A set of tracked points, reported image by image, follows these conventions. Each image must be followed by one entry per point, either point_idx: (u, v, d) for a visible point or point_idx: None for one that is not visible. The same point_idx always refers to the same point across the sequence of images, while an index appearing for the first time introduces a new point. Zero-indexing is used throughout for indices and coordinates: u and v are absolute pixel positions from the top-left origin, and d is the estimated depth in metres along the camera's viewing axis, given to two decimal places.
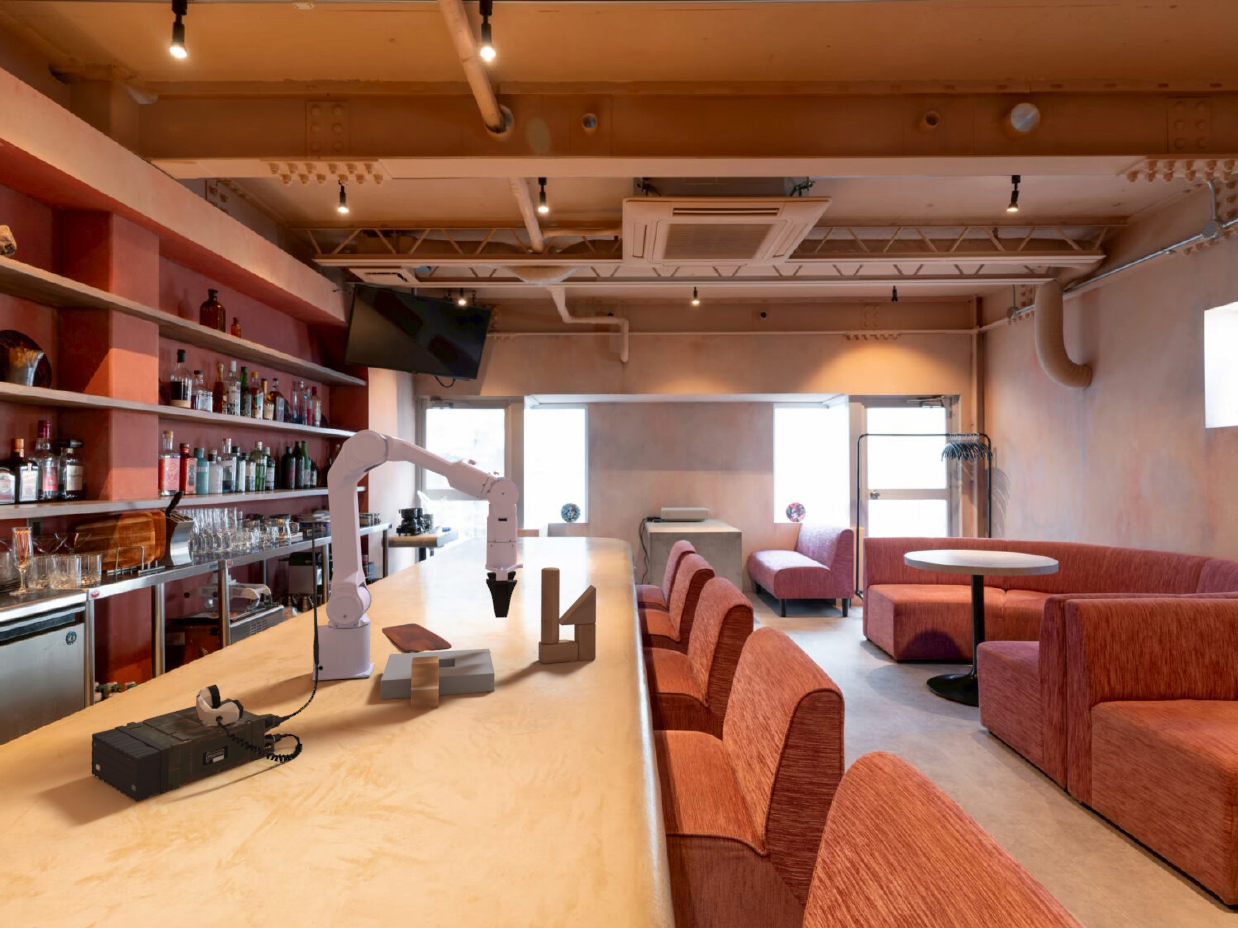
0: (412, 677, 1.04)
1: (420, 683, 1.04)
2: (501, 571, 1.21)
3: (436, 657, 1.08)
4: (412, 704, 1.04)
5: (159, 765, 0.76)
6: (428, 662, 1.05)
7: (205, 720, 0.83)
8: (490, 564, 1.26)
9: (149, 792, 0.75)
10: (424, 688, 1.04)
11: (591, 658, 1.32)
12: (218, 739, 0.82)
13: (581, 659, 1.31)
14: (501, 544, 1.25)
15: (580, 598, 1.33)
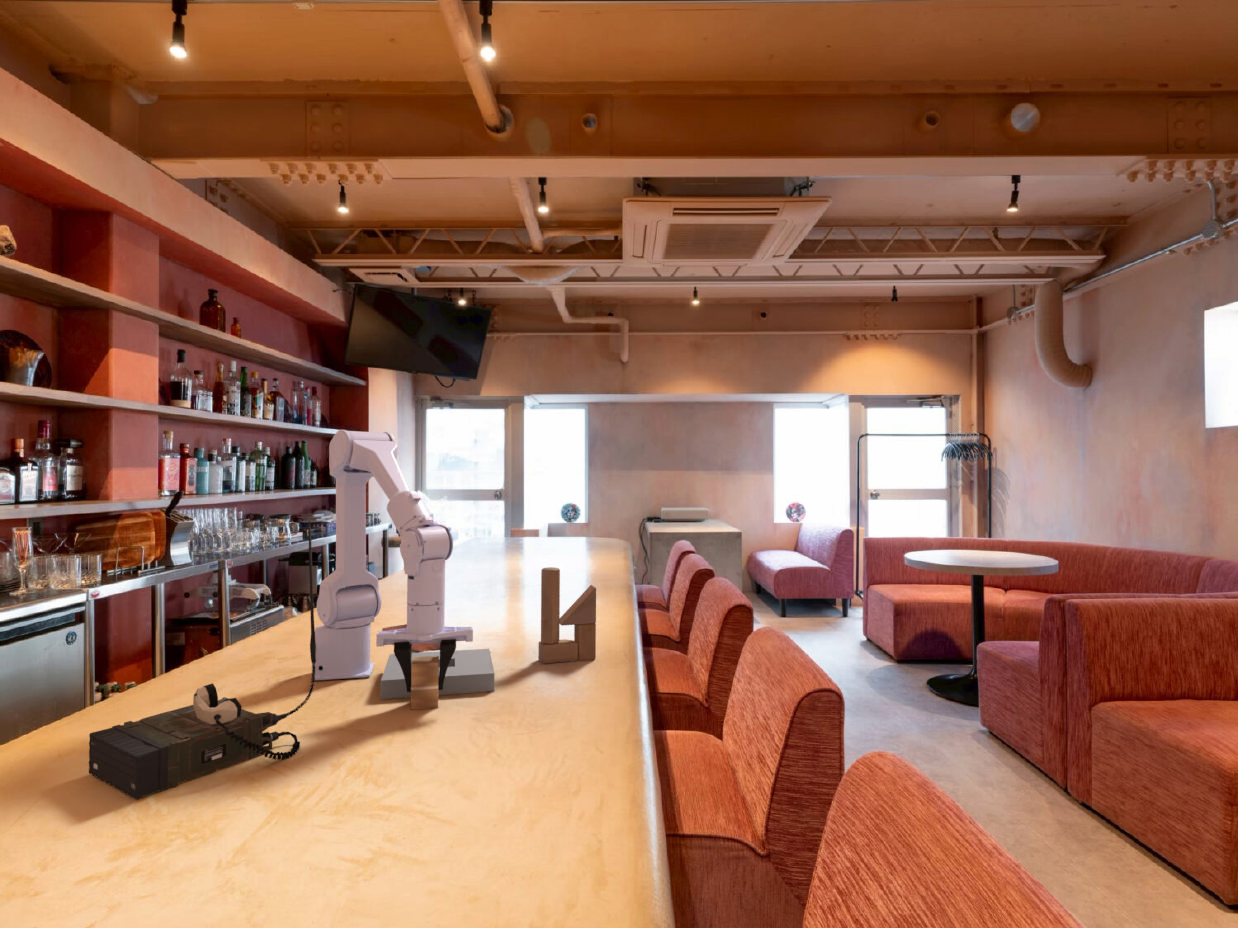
0: (412, 677, 1.04)
1: (420, 683, 1.04)
2: (377, 634, 1.05)
3: (436, 657, 1.08)
4: (412, 704, 1.04)
5: (158, 763, 0.77)
6: (428, 662, 1.05)
7: (203, 719, 0.84)
8: None
9: (148, 790, 0.76)
10: (424, 688, 1.04)
11: (591, 658, 1.32)
12: (216, 737, 0.82)
13: (581, 659, 1.31)
14: None
15: (580, 598, 1.33)
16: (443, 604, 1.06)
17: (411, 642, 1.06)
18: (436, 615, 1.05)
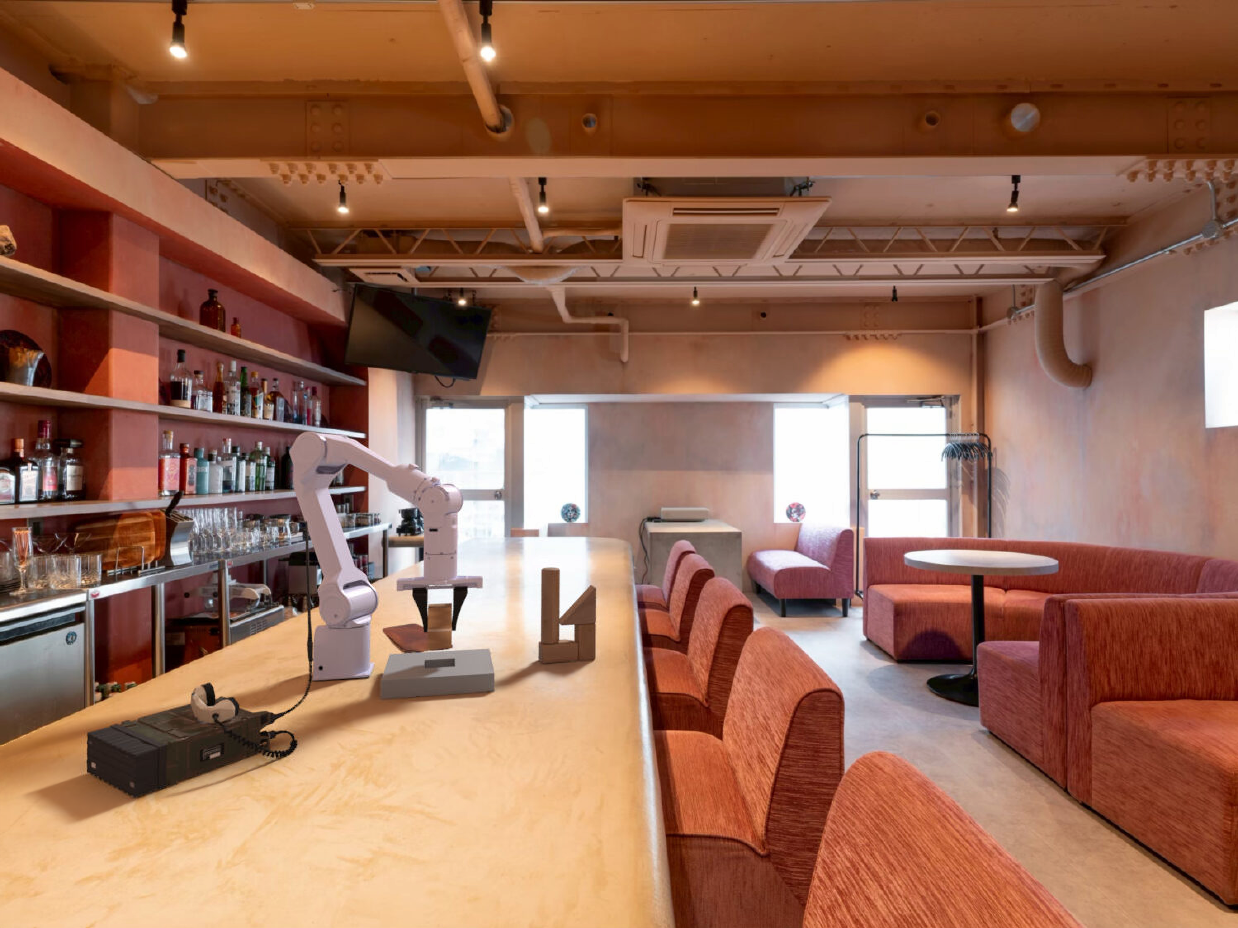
0: (428, 620, 1.16)
1: (435, 625, 1.16)
2: (397, 580, 1.17)
3: (449, 604, 1.20)
4: (428, 644, 1.16)
5: (157, 762, 0.77)
6: (443, 607, 1.17)
7: (201, 717, 0.84)
8: None
9: (147, 789, 0.76)
10: (439, 630, 1.16)
11: (591, 658, 1.32)
12: (214, 736, 0.83)
13: (581, 659, 1.31)
14: None
15: (580, 598, 1.33)
16: (456, 554, 1.18)
17: (427, 588, 1.18)
18: (450, 564, 1.17)
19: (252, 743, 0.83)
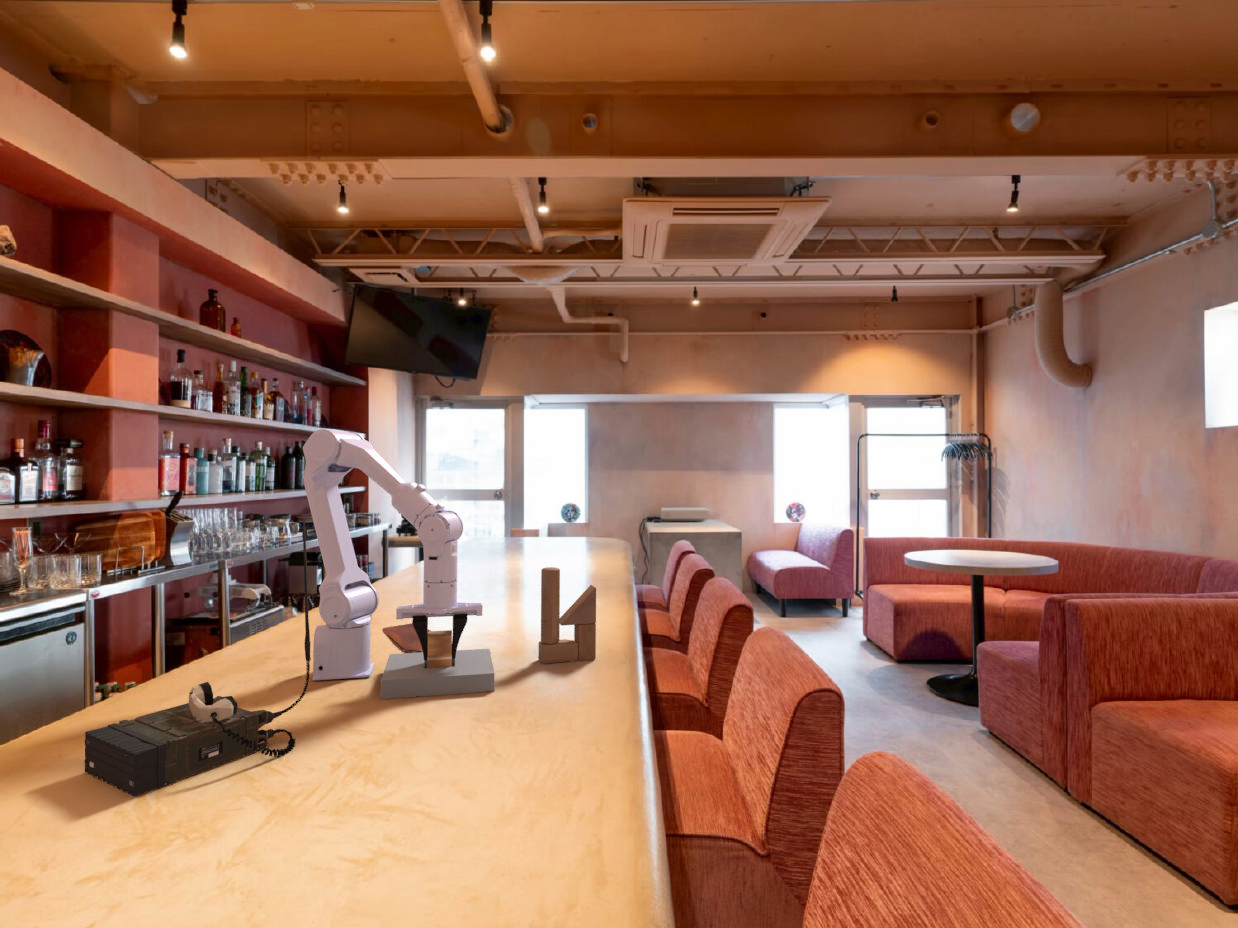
0: (428, 648, 1.16)
1: (435, 654, 1.16)
2: None
3: (449, 631, 1.20)
4: None
5: (156, 761, 0.78)
6: (443, 635, 1.17)
7: (199, 716, 0.84)
8: None
9: (146, 787, 0.77)
10: (439, 658, 1.16)
11: (591, 658, 1.32)
12: (213, 735, 0.83)
13: (581, 659, 1.31)
14: None
15: (580, 598, 1.33)
16: (456, 582, 1.18)
17: (427, 616, 1.18)
18: (450, 592, 1.17)
19: (251, 742, 0.83)
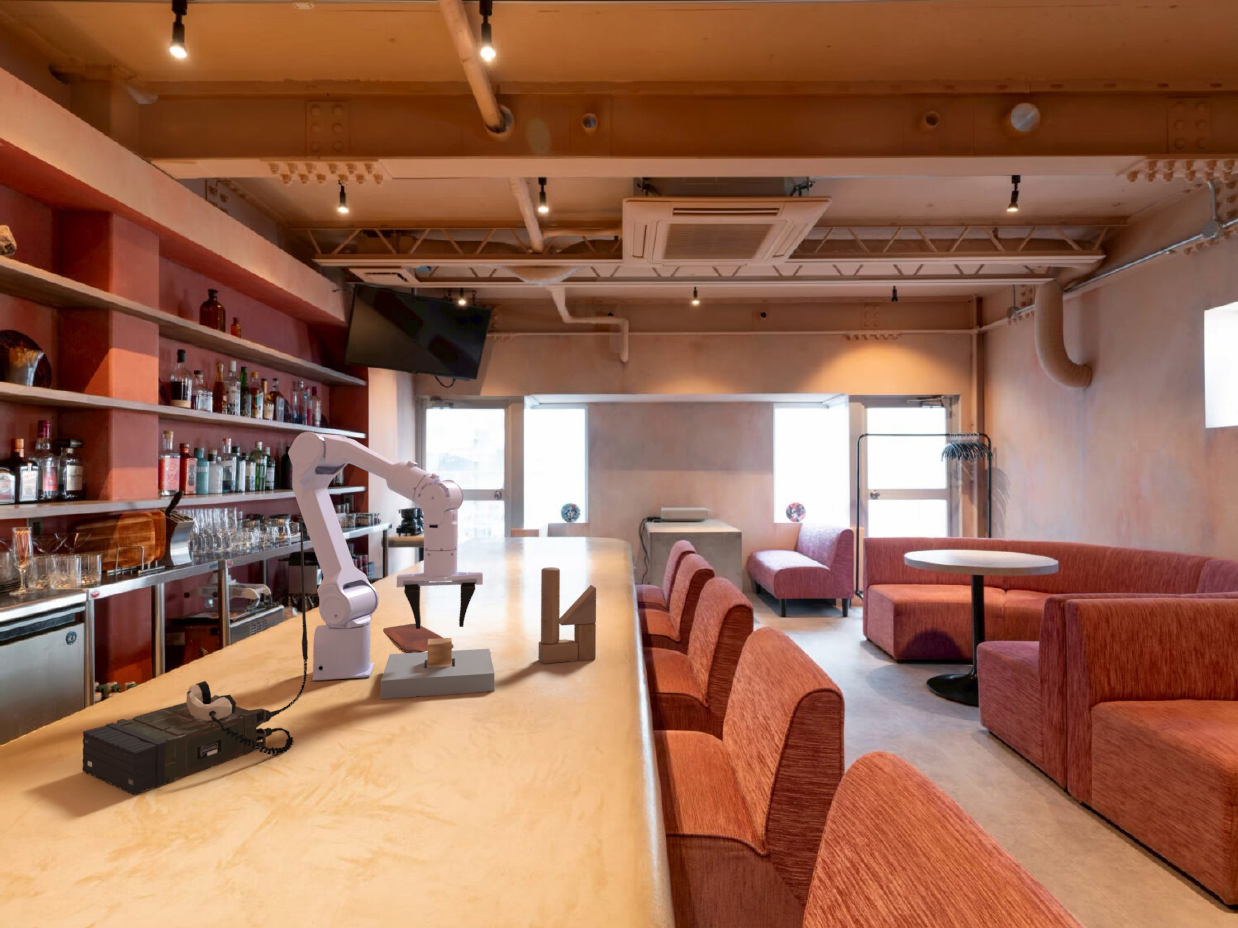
0: (428, 656, 1.16)
1: (435, 661, 1.16)
2: None
3: (449, 639, 1.20)
4: None
5: (156, 759, 0.78)
6: (442, 643, 1.17)
7: (198, 715, 0.85)
8: None
9: (146, 786, 0.77)
10: (439, 666, 1.16)
11: (591, 658, 1.32)
12: (211, 733, 0.83)
13: (581, 659, 1.31)
14: None
15: (580, 598, 1.33)
16: (456, 550, 1.18)
17: (427, 584, 1.18)
18: (450, 560, 1.17)
19: (249, 740, 0.84)
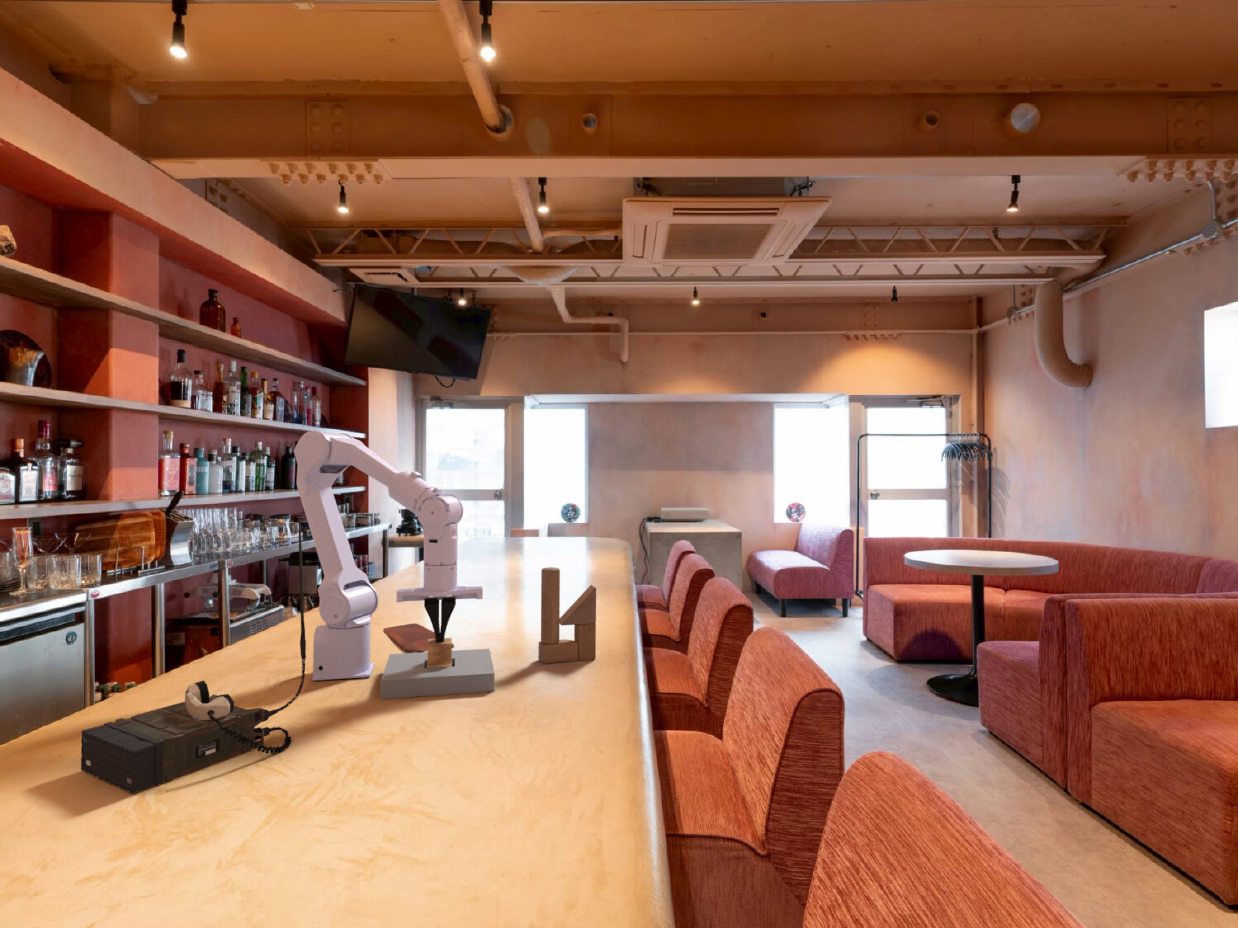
0: (428, 656, 1.16)
1: (435, 661, 1.16)
2: (397, 591, 1.17)
3: (449, 639, 1.20)
4: None
5: (154, 758, 0.78)
6: (442, 643, 1.17)
7: (196, 714, 0.85)
8: None
9: (144, 784, 0.77)
10: (439, 666, 1.16)
11: (591, 658, 1.32)
12: (210, 732, 0.84)
13: (581, 659, 1.31)
14: None
15: (580, 598, 1.33)
16: (456, 565, 1.18)
17: None
18: (450, 575, 1.17)
19: (248, 739, 0.84)
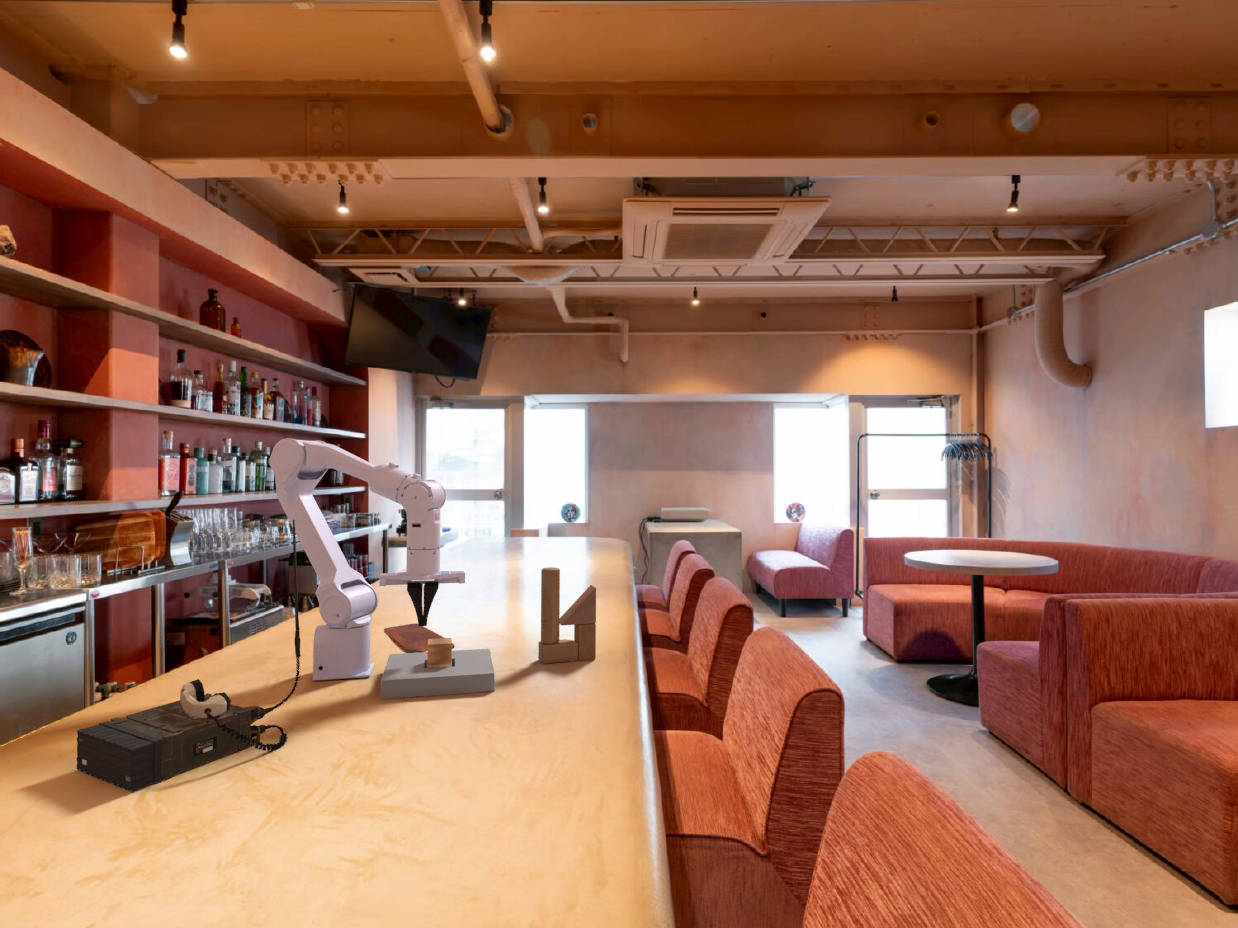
0: (428, 656, 1.16)
1: (435, 661, 1.16)
2: (380, 575, 1.18)
3: (449, 639, 1.20)
4: None
5: (153, 756, 0.79)
6: (442, 643, 1.17)
7: (193, 713, 0.86)
8: None
9: (143, 782, 0.78)
10: (439, 666, 1.16)
11: (591, 658, 1.32)
12: (207, 730, 0.84)
13: (581, 659, 1.31)
14: None
15: (580, 598, 1.33)
16: (438, 550, 1.20)
17: None
18: (432, 559, 1.18)
19: (245, 736, 0.85)
